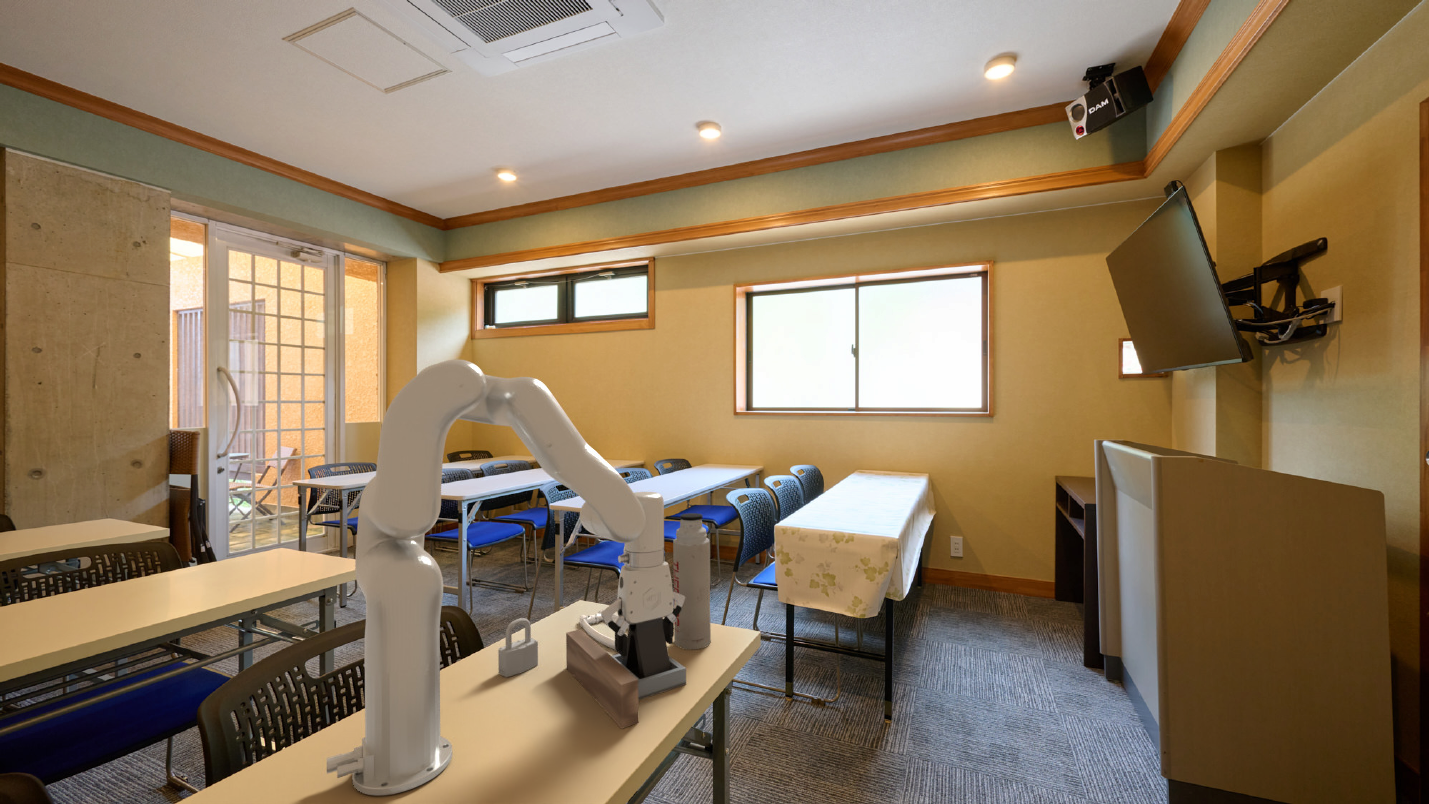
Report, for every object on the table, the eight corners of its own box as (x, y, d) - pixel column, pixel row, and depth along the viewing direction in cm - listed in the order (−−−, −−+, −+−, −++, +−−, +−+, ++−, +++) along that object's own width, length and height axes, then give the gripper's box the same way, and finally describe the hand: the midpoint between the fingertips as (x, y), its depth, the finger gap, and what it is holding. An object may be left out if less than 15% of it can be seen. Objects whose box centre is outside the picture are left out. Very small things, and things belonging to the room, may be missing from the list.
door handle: (622, 662, 116) (570, 625, 136) (662, 648, 122) (607, 615, 142) (622, 648, 116) (570, 614, 136) (662, 636, 122) (607, 604, 142)
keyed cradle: (637, 700, 100) (637, 683, 100) (607, 672, 111) (607, 656, 111) (686, 684, 105) (685, 668, 105) (653, 659, 116) (653, 644, 116)
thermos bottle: (675, 650, 120) (673, 518, 120) (673, 635, 128) (672, 511, 128) (712, 648, 121) (710, 517, 121) (708, 633, 129) (707, 510, 129)
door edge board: (621, 728, 91) (621, 684, 91) (566, 667, 113) (566, 632, 113) (639, 722, 93) (639, 679, 93) (582, 663, 114) (581, 628, 115)
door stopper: (620, 672, 110) (619, 610, 110) (646, 662, 113) (645, 602, 114) (646, 689, 103) (645, 623, 103) (672, 678, 107) (672, 614, 107)
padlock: (529, 660, 116) (528, 611, 116) (540, 666, 114) (539, 616, 114) (496, 673, 111) (496, 621, 111) (507, 679, 108) (507, 626, 108)
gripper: (610, 569, 100) (610, 666, 100) (693, 555, 110) (693, 643, 110) (594, 560, 107) (594, 652, 106) (674, 547, 116) (674, 631, 116)
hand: (645, 647), depth 108 cm, fingers open, 9 cm apart
